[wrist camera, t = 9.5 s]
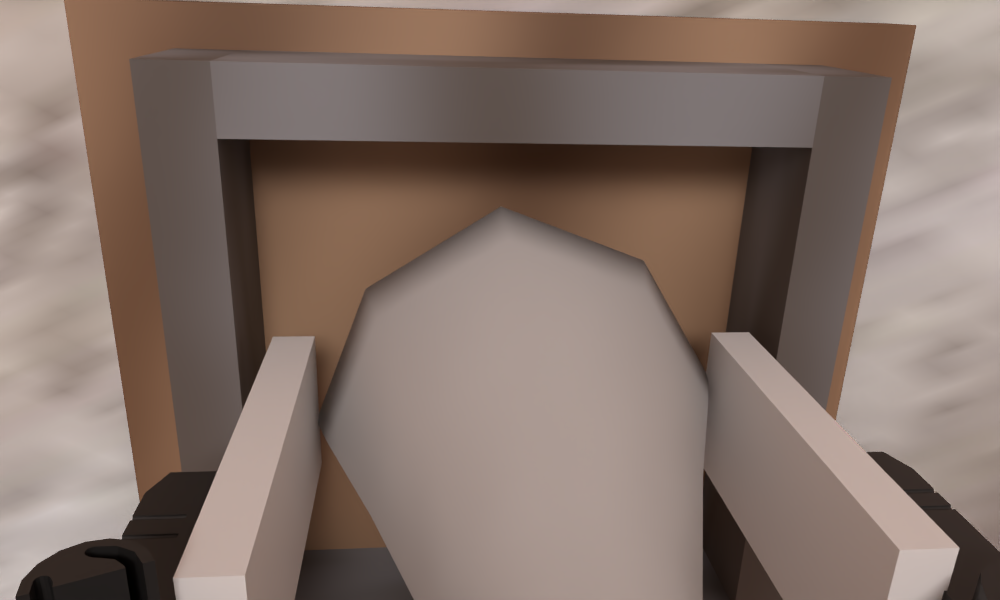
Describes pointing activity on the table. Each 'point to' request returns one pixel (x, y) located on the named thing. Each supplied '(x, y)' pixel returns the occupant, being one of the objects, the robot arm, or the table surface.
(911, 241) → the table surface
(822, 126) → the rectangular tray
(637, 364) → the flask
